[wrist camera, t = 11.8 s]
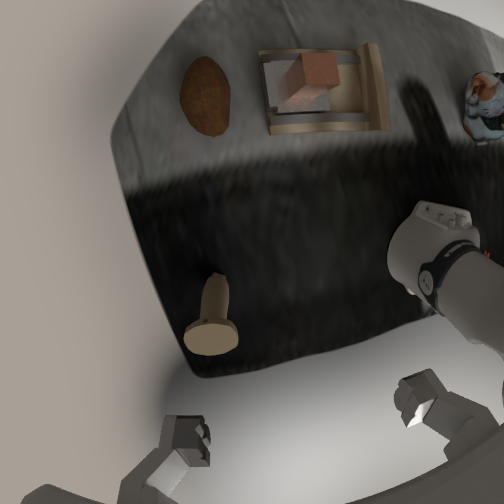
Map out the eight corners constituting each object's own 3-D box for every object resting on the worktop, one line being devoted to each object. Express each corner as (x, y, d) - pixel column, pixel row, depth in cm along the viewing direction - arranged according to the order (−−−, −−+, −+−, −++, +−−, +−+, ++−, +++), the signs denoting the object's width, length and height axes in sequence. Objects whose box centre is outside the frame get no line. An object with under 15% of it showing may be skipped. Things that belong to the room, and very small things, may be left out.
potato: (194, 143, 36) (186, 143, 30) (175, 72, 32) (164, 60, 26) (240, 130, 36) (241, 127, 30) (221, 59, 32) (218, 43, 25)
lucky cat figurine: (466, 151, 37) (494, 132, 25) (439, 97, 38) (457, 65, 25) (512, 136, 32) (543, 118, 19) (487, 86, 32) (510, 58, 19)
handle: (239, 289, 46) (242, 350, 32) (203, 296, 46) (191, 357, 32) (233, 263, 44) (232, 319, 30) (194, 271, 44) (178, 328, 30)
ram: (316, 65, 31) (346, 39, 20) (323, 112, 34) (357, 102, 23) (259, 67, 31) (269, 37, 20) (266, 115, 34) (279, 103, 23)
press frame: (359, 54, 31) (377, 43, 26) (370, 130, 36) (390, 130, 31) (257, 53, 31) (261, 38, 26) (269, 135, 36) (275, 133, 31)
